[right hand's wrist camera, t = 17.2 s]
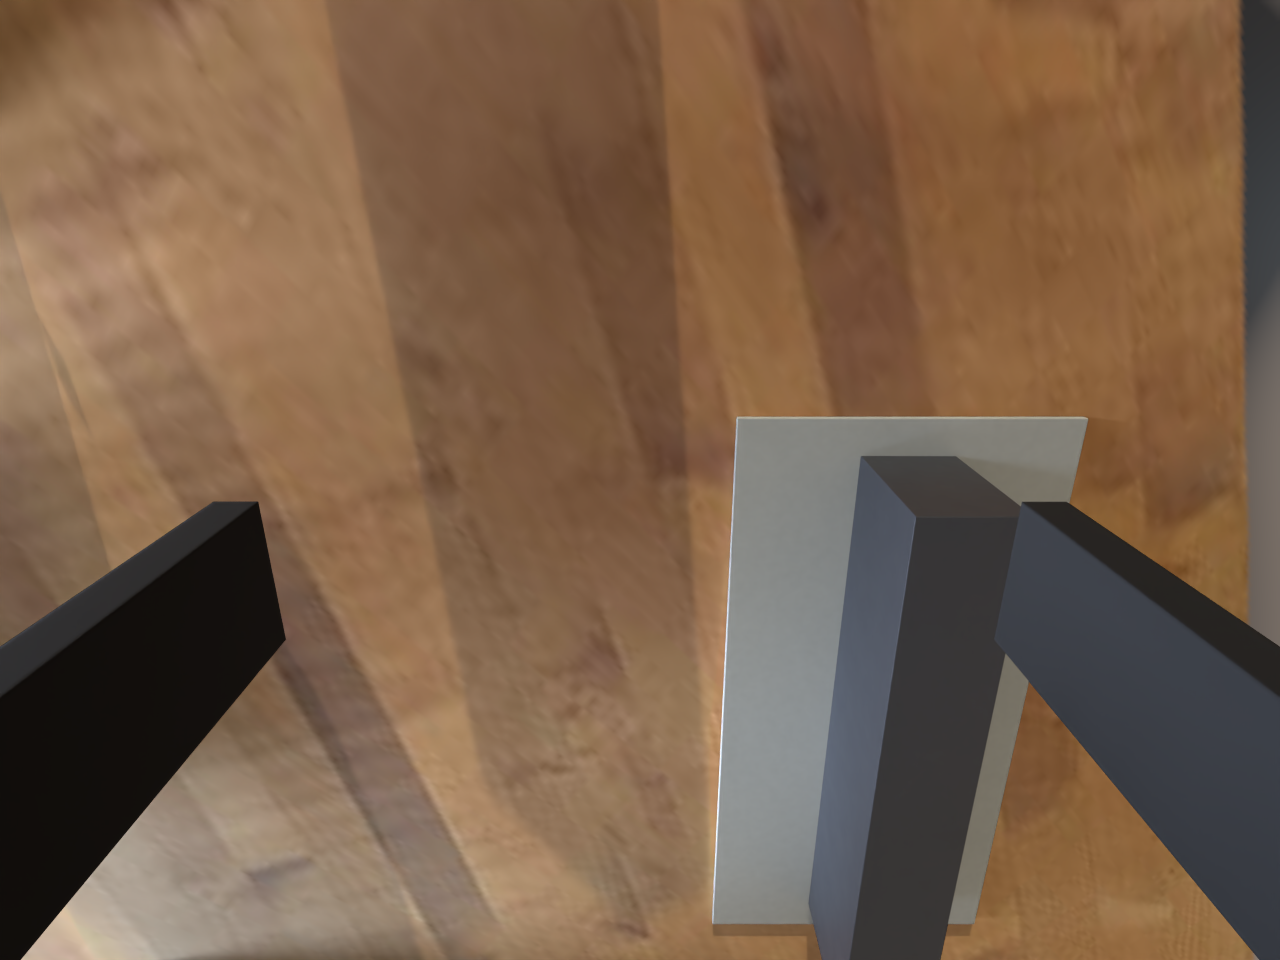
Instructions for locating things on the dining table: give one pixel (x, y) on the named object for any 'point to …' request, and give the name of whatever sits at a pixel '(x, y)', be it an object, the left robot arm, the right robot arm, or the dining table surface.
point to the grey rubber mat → (835, 635)
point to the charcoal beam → (909, 704)
